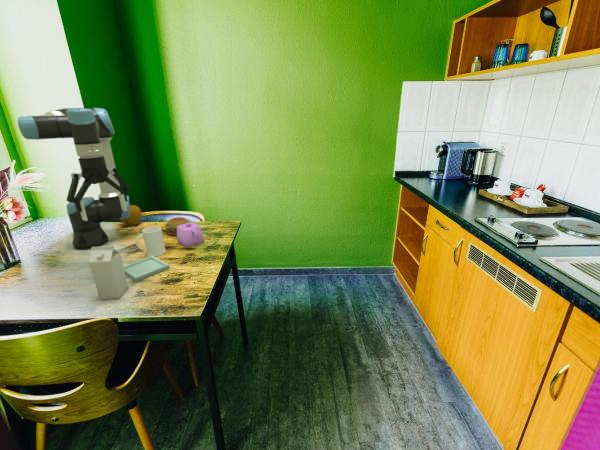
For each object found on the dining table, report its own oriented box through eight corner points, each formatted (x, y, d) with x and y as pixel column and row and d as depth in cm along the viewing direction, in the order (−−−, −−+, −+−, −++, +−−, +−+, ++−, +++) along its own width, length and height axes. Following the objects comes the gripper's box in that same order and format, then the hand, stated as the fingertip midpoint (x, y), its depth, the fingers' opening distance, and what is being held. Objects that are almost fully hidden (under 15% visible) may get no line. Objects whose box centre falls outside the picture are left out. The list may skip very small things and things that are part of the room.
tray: (120, 271, 128) (119, 267, 127) (153, 259, 138) (152, 255, 137) (136, 282, 119) (135, 278, 119) (169, 268, 130) (168, 264, 129)
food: (168, 239, 160) (166, 224, 157) (163, 230, 171) (161, 217, 169) (195, 233, 167) (193, 219, 164) (188, 226, 178) (187, 213, 175)
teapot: (173, 239, 159) (170, 221, 156) (192, 234, 166) (189, 216, 162) (188, 250, 147) (185, 230, 143) (208, 243, 154) (206, 224, 150)
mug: (140, 260, 137) (135, 235, 133) (137, 253, 144) (132, 230, 139) (168, 253, 144) (163, 229, 139) (163, 247, 150) (159, 224, 146)
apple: (126, 229, 174) (122, 210, 170) (115, 225, 180) (110, 207, 176) (148, 222, 184) (144, 204, 180) (136, 219, 190) (132, 201, 186)
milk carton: (109, 288, 115) (96, 242, 108) (128, 287, 116) (117, 242, 109) (99, 299, 109) (85, 251, 102) (120, 298, 109) (107, 250, 102)
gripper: (51, 162, 93) (70, 226, 101) (132, 153, 112) (144, 208, 119) (43, 160, 97) (62, 222, 105) (123, 152, 116) (134, 205, 124)
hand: (105, 215), depth 112 cm, fingers open, 13 cm apart
